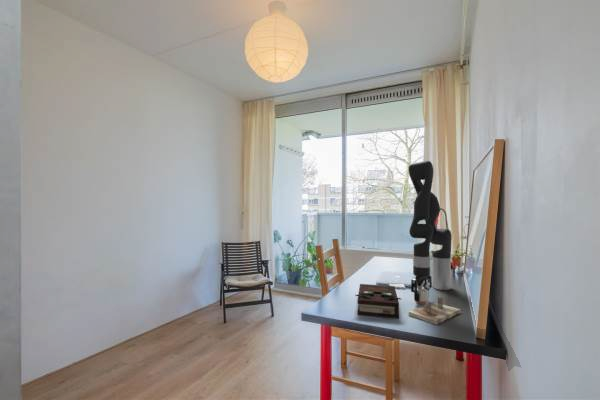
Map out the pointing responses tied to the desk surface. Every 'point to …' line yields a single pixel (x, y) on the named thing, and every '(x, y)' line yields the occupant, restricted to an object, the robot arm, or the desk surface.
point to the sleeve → (423, 296)
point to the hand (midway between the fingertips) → (421, 299)
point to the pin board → (434, 312)
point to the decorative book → (378, 301)
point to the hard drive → (398, 286)
